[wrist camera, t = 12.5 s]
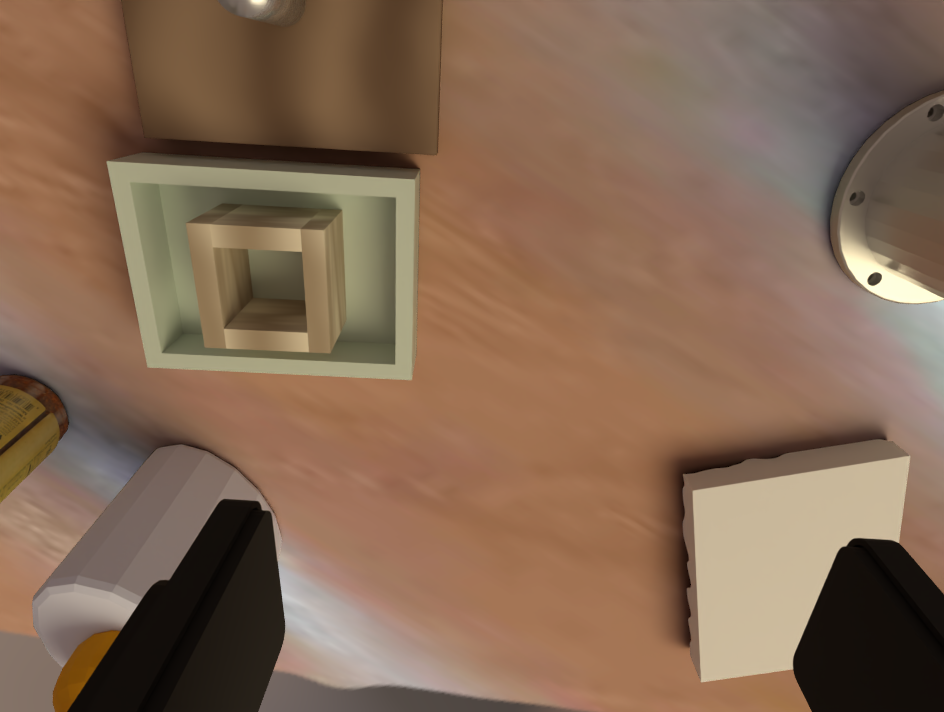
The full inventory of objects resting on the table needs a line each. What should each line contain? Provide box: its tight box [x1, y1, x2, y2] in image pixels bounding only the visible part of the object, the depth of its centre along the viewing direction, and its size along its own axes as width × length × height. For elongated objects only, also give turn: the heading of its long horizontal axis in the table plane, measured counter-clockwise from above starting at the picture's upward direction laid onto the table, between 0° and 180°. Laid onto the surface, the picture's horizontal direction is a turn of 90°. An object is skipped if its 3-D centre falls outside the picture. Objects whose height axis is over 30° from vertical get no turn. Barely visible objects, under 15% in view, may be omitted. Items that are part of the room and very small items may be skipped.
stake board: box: [121, 0, 443, 155], centre depth 30 cm, size 16×14×2 cm
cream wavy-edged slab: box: [683, 439, 910, 682], centre depth 47 cm, size 15×3×20 cm
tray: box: [107, 152, 420, 380], centre depth 35 cm, size 16×12×4 cm
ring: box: [186, 203, 347, 353], centre depth 34 cm, size 7×7×5 cm
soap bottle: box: [32, 444, 282, 712], centre depth 36 cm, size 13×8×20 cm, turn 27°
